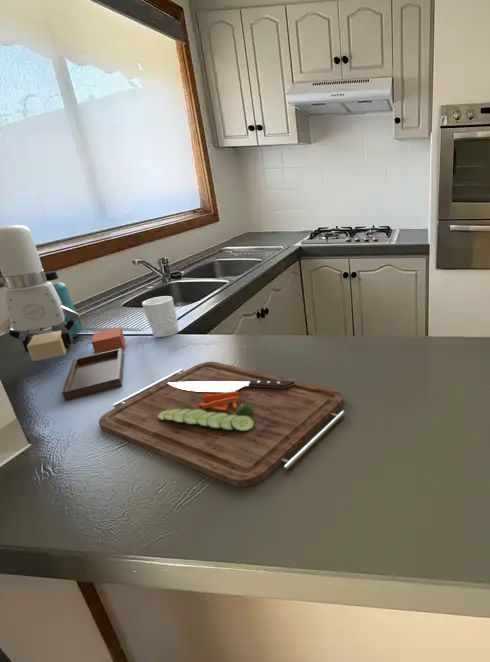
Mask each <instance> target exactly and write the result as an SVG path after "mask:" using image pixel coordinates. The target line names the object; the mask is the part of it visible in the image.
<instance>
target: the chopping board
mask: <svg viewBox="0 0 490 662" xmlns="http://www.w3.org/2000/svg"><path fill="white" fill-rule="evenodd" d="M343 406H344V395H343V393H342V392H341V391H339V390H337V389H333V388H329V387H325V386H322V385H321V386H320V385H316V384H312V383H307V382H303V381H299V380H294V379H290V378H286V377H281V376H277V375H273V374H269V373H265V372H260V371H256V370H251V369H248V368H244V367H239V366H235V365H230V364H226V363H223V362H218V361H206V362H201V363H199V364H196V365H194V366H191V367H189V368H188V369H187V370H184V369H183V368H180V369H179V370H177V371H175V372H173V373H171V374H169V375H167V376H165V377H163V378H162V379H159V380H157V381H155V382H153V383H151V384H150V385H148V386H146V387H144V388H142V389H140V390H138V391H136V392H134V393H133V394H130V395H129V396H126V397H125V398H123V399H120V400H119V401H117V402H115V403H113V404H112V407H113V408H112V409H110V410H108V411H107V412H105V413H103V414H102V416H100V418H99V419H98V424H99V427H100V429H101V430H102V431H103V432H105V433H107V434H110V435H112V436H114V437H117V438H119V439H122V440H124V441H127V442H129V443H131V444H133V445H136V446H138V447H140V448H142V449H146V450H148V451H150V452H152V453H155V454H157V455H160V456H162V457H164V458H167V459H169V460H171V461H174V462H177V463H178V464H181V465H184V466H186V467H188V468H191V469H193V470H195V471H197V472H200V473H202V474H205V475H207V476H210V477H212V478H214V479H217V480H219V481H222V482H224V483H226V484H229V485H231V486H233V487H238V488H246V487H253V486H255V485H257V484H260V483H261V482H263V481H264V480H266V479H267V478H268V477H269V476H270V475H271V474H273V472H274V471H276V470H277V468H279V467H280V466H281V465H282V464H283V463H284V464H285V465H283V470H284V471H288V470H289V469H290V468H292V466H293V465H294V464H295V463H297V462H298V461H299V460H300V458H302V456H304V455H305V454H306V453H307V452H308V451H309V450H310V449H311V448H312V447H313V446H314V445H315V444H316V443H317V442H318V441H319V440H320V439H321V438H323V436H324V435H325V434H326V433H327V432H328V431H330V430H331V428H333V426H334V425H336V423H338V421H340V420H341V419H342V418H343V416H344V415H346V412H345V410H341V409H342V408H343ZM340 410H341V411H340ZM338 411H340V412H339V413H338ZM337 413H338V414H337ZM332 417H333V418H332ZM331 418H332V420H331V421H330V422H329V423H328V424H327V425H325V427H323V428H322V426H324V424H326V423H327V422H328V421H329V420H330V419H331ZM321 428H322V429H321ZM319 429H321V430H320V431H319V432H318V433H317V434H316V435H315V436H314V437H312V436H313V435H314V434H315V433H316V432H317V431H318V430H319ZM311 437H312V439H310V440H309V442H307V443H306V444H305V442H306V441H307V440H308V439H309V438H311ZM303 444H305V445H304V447H302V448H301V449H300V450H299V451H297V450H298V449H299V448H300V447H301V446H302V445H303ZM296 451H297V453H296V454H295V455H294V456H293V457H292V458H291V459H290V460H289V458H290V456H291V455H292V454H293V453H295V452H296Z"/></svg>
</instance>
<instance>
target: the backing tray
mask: <svg viewBox="0 0 490 662" xmlns="http://www.w3.org/2000/svg"><path fill="white" fill-rule="evenodd" d="M124 360H125V353H124V350H122V348H119V349H115V350H111V351H106V352H102V353H98V354H96V353H94V354H89V355H86V356H80V357H76V358H73V360H72V362H71V365H70V368H69V371H68V374H67V377H66V380H65V383H64V385H63V388H62V392H61V395H62V396H63V399H64V401H65V402H68V401H72V400H75V399H79V398H83V397H87V396H91V395H94V394H98V393H103V392H106V391H110V390H114V389H117V388H121V387H123V377H124V376H123V375H124V363H125V362H124Z"/></svg>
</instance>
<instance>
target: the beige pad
mask: <svg viewBox="0 0 490 662" xmlns="http://www.w3.org/2000/svg"><path fill="white" fill-rule="evenodd" d="M61 333H62V332H61V331H55V332H53V331H50V332H46V333H45V332H44V333H39V334H33V336H32V337H31V338H32V339H31V341H30V342H29V344H28V345H27V348H28V351H29V352H28V354H29V356H30V359H31V361H32V362H36V361H41V360H42V361H43V360H47V359H53V358H56V357H61V356H65V355H66V353H67V351H68V349H66V348H65V346H64V343H63V340H62V337H61Z"/></svg>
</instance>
